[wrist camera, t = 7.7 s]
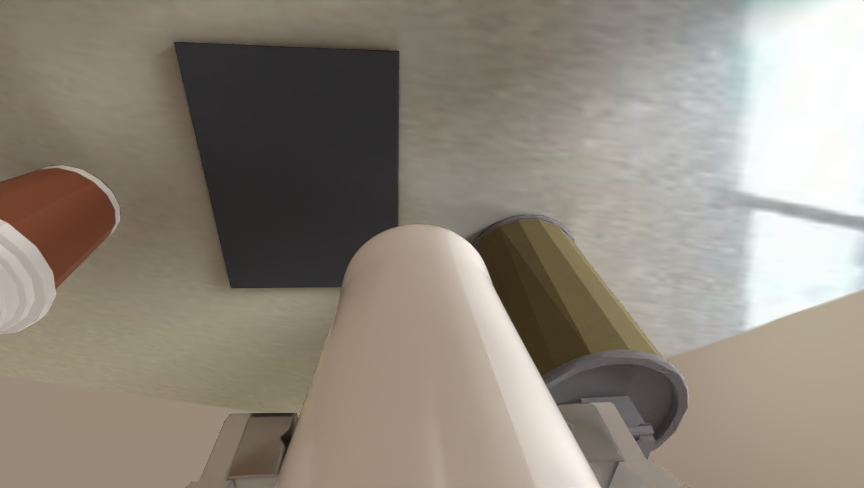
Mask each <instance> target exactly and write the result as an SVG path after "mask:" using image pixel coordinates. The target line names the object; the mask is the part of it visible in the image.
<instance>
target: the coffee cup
mask: <svg viewBox="0 0 864 488" xmlns="http://www.w3.org/2000/svg"><path fill="white" fill-rule="evenodd" d="M119 222H120V206H119V204H118V202H117V200H116V198H115V196H114V195H113V193H112V191H111V190H110V189H109V188H108V187H107V186H106V185H105V184H104V183H103V182H102V181H101V180H100V179H98V178H96V177H95V176H93V175H91V174H89V173H87V172H86V171H84V170H82V169H78V168H74V167H70V166H65V165H57V166H49V167H44V168H42V169H40V170H37V171H34V172H30V173H27V174H24V175H21V176H18V177H15V178H12V179H9V180H5V181H2V182H0V334H6V333H14V332H19V331H21V330H23V329H24V328H26V327H28V326H30V325H31V324H33V323H35V322H37V321H38V320H40V319H41V318H42V317H44V316H45V315H46V314H47V312H48V311H49V309H50V307H51V305H52V303H53V301H54V299H55V297H56V288H57V287H58V286H59V285H60V284H61V283H62V282H63V281H64V280H65V279H66V278H67V277H68V276H69V275H70V274H71V273H72V272H73V271H74V270H75V269H76V268H77V267H78V266H79V265H80V264H81V263H82V262H83V261H84V260H85V259H86V258H87V257H88V256H89V255H90V254H91V253H92V252H93V251H94V250H95V249H96V248H97V247H98V246H99V245H100V244H101V243H102V242H103V241H104V240H105V239H106V238H107V237H108V236H109V235H110V234H111V233H113V232H114V231H115V229H116V227H117V225H118V223H119Z"/></svg>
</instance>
